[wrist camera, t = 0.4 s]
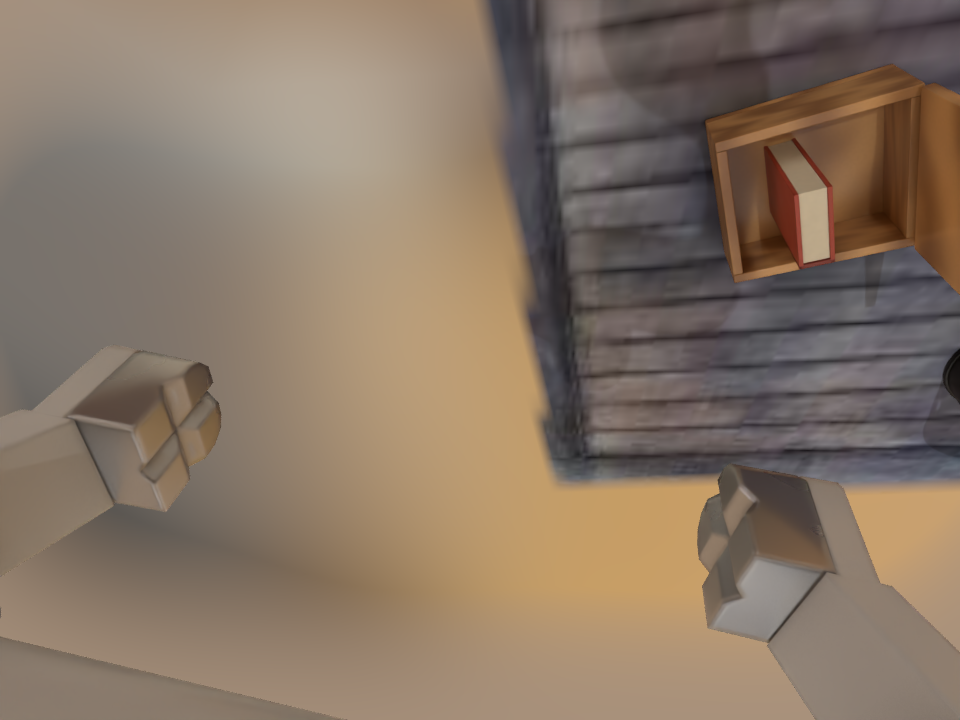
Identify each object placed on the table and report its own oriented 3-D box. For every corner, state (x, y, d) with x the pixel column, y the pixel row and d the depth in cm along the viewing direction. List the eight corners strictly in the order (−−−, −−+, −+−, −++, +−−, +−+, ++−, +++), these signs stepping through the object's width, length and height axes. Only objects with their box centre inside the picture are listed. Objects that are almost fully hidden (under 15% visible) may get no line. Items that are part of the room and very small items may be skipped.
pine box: (724, 251, 57) (734, 283, 52) (704, 120, 50) (714, 143, 45) (890, 213, 52) (917, 244, 47) (892, 63, 45) (925, 82, 41)
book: (769, 211, 53) (799, 269, 45) (763, 146, 50) (794, 195, 42) (799, 204, 52) (835, 262, 44) (795, 137, 49) (832, 186, 41)
